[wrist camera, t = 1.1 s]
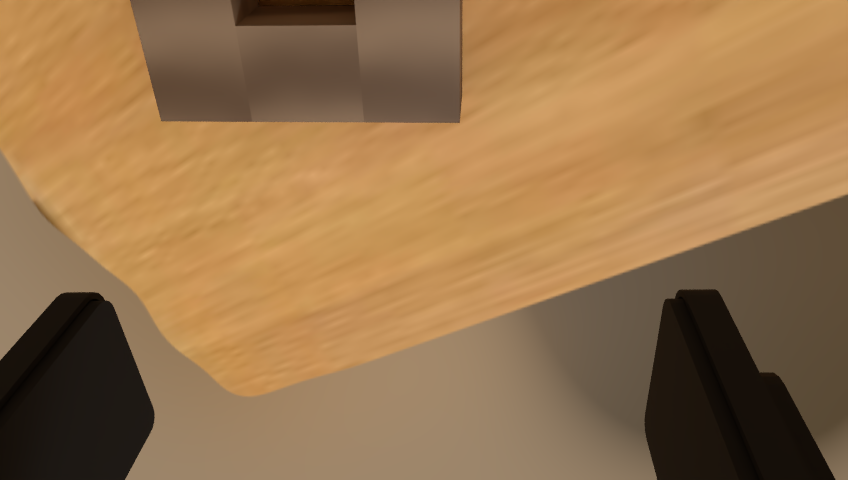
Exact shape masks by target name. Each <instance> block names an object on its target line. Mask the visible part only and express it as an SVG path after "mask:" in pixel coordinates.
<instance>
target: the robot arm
mask: <svg viewBox="0 0 848 480" xmlns="http://www.w3.org/2000/svg"><path fill="white" fill-rule="evenodd" d="M153 424H154V409H153V406H152V404H151V401H150V398H149V396H148V393H147V391H146V388H145V386H144V383H143V381H142V378H141V375H140V373H139V370H138V368H137V365H136V363H135V360H134V358H133V355H132V352H131V350H130V348H129V345H128V342H127V340H126V337H125V335H124V332H123V330H122V327H121V324H120V322H119V320H118V317H117V314H116V312H115V309H114V307H113V305H112V304H111V303H110V302H109V301H105V300H104V298H103V297H102V296H101V295H100V294H99V293H94V292H89V293H88V292H87V293H86V292H82V293H81V292H78V293H63V294H60V295H59V296H58V297H56V299H55V300H54V301H53V302H52V303H51V304H50V305H49V307H48V308H47V309H46V310H45V311H44V312H43V313H42V314H41V315H40V317H39V318H38V319H37V320H36V321H35V322H34V323H33V324H32V326H31V327H30V328H29V329H28V330H27V331H26V332H25V333H24V334H23V336H22V337H21V338H20V339H19V340H18V341H17V342H16V344H15V345H14V346H13V347H12V348H11V349H10V350H9V351H8V353H7V354H6V355H5V356H4V357H3V358H2V359H1V360H0V480H125V478H126V477H127V475H128V473H129V471H130V469H131V467H132V465H133V464H134V462H135V460H136V458H137V456H138V454H139V452H140V451H141V449H142V447H143V445H144V443H145V441H146V439H147V438H148V436H149V434H150V432H151V430H152V428H153ZM645 433H646V438H647V442H648V446H649V450H650V454H651V457H652V461H653V465H654V469H655V472H656V476H657V480H835V478H834V476H833V474H832V472H831V470H830V469H829V467H828V465H827V463H826V461H825V459H824V457H823V456H822V454H821V452H820V450H819V448H818V446H817V444H816V442H815V441H814V439H813V437H812V435H811V433H810V431H809V429H808V427H807V426H806V424H805V422H804V420H803V419H802V416H801V415H800V413H799V411H798V409H797V407H796V405H795V403H794V401H793V400H792V398H791V396H790V394H789V392H788V390H787V388H786V386H785V384H784V383H783V382H782V380H781V379H780V377H779V376H777V375H776V374H775V373H759V371H758V369H757V367H756V365H755V363H754V361H753V359H752V357H751V355H750V353H749V351H748V349H747V347H746V345H745V343H744V341H743V339H742V337H741V335H740V333H739V331H738V329H737V327H736V325H735V323H734V321H733V319H732V317H731V315H730V313H729V311H728V309H727V307H726V305H725V303H724V301H723V299H722V297H721V295H720V294H719V292H718V291H717V290H679V291H678V292H677V294H676V297H675V299H666V300H665V302H664V304H663V309H662V316H661V322H660V328H659V334H658V340H657V346H656V352H655V358H654V364H653V370H652V376H651V382H650V389H649V394H648V400H647V406H646V412H645Z"/></svg>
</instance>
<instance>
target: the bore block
mask: <svg viewBox="0 0 848 480" xmlns="http://www.w3.org/2000/svg"><path fill="white" fill-rule="evenodd" d="M130 1H131V5H132V9H133V13H134V17H135V21H136V25H137V29H138V32H139V36H140V40H141V44H142V48H143V52H144V56H145V60H146V63H147V67H148V71H149V75H150V79H151V83H152V87H153V91H154V95H155V98H156V102H157V106H158V110H159V114H160V118H161V121H213V122H404V123H460V113H461V101H462V0H354V4H355V5H319V6H259V5H258V0H130Z"/></svg>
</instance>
